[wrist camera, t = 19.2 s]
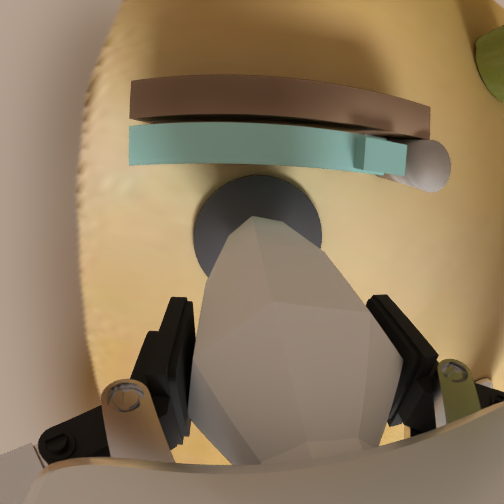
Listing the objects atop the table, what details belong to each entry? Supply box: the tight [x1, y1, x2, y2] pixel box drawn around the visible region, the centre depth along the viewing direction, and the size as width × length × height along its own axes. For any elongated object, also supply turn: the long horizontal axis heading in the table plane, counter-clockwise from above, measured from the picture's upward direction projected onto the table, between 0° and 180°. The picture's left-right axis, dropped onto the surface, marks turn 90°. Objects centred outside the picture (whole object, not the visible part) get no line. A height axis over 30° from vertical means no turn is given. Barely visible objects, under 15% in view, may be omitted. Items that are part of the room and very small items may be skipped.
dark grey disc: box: [194, 175, 322, 278], centre depth 20 cm, size 9×9×1 cm
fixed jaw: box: [129, 75, 451, 192], centre depth 15 cm, size 5×18×6 cm, turn 88°
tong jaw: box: [129, 122, 407, 176], centre depth 15 cm, size 2×14×6 cm, turn 87°
